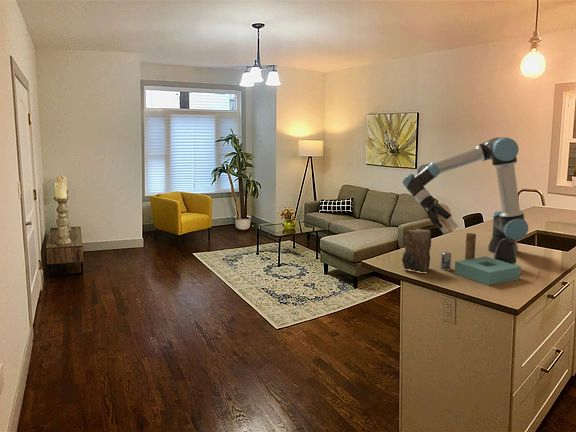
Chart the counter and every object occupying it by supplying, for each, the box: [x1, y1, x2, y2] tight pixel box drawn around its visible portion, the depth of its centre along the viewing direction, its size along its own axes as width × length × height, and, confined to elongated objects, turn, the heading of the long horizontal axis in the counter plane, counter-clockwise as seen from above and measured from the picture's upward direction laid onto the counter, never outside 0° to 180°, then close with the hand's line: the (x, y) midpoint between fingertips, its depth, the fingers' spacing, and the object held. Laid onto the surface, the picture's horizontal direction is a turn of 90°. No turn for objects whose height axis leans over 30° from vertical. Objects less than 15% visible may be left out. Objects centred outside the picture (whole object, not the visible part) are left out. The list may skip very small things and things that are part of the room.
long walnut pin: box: [464, 232, 477, 260], centre depth 231 cm, size 4×4×16 cm
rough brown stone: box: [401, 228, 432, 273], centre depth 224 cm, size 13×13×20 cm
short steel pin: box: [440, 251, 452, 270], centre depth 225 cm, size 4×4×8 cm
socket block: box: [454, 256, 522, 286], centre depth 213 cm, size 20×20×6 cm
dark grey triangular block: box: [493, 238, 517, 265], centre depth 225 cm, size 10×10×15 cm
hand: (451, 230), depth 236 cm, fingers open, 13 cm apart
